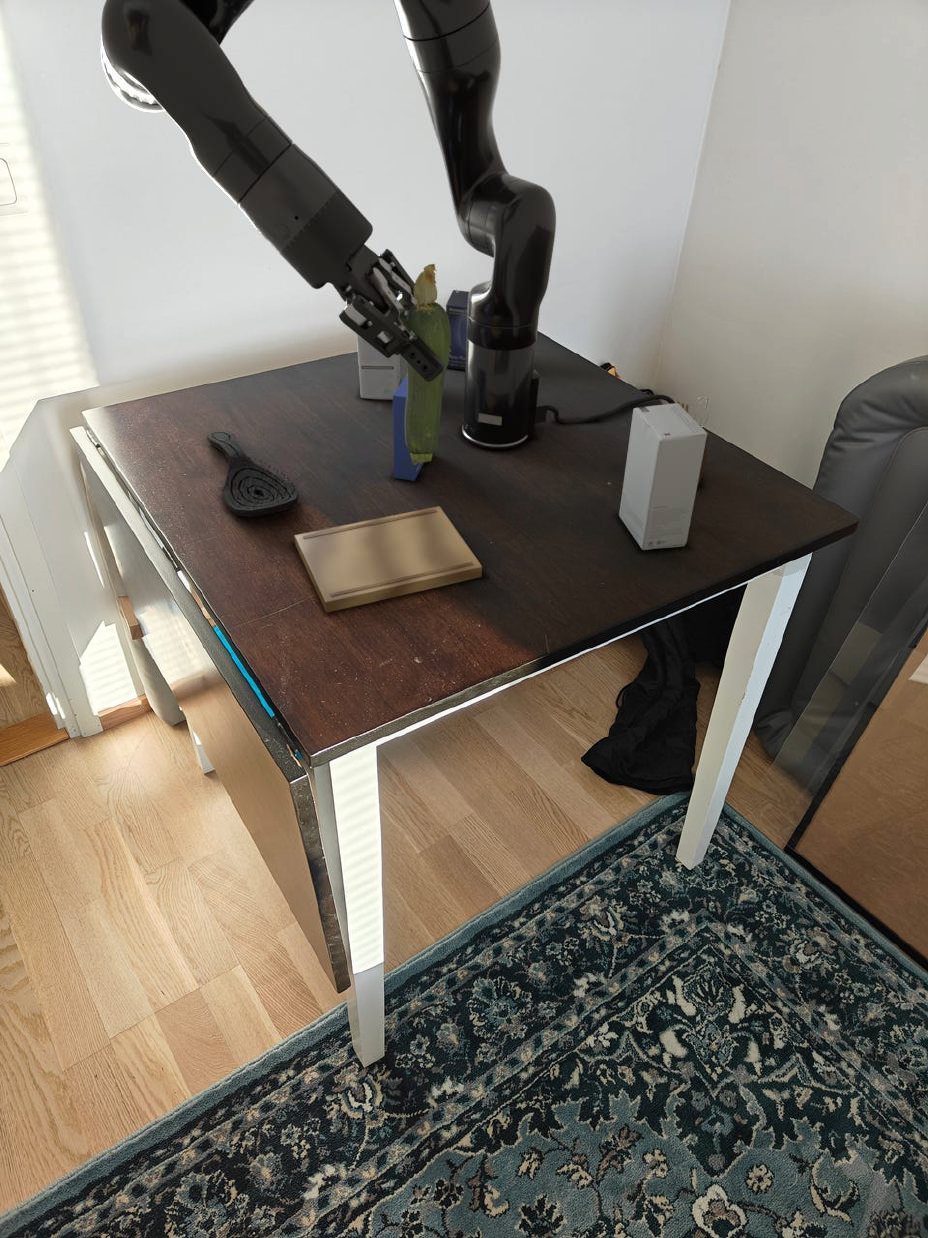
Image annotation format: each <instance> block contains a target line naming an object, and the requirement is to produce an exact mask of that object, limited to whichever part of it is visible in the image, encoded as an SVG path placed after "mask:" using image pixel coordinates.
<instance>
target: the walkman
mask: <svg viewBox="0 0 928 1238" xmlns="http://www.w3.org/2000/svg"><path fill="white" fill-rule="evenodd" d="M406 398H407V374H406V375H405V376H404V378H403V379H402V380H401V384H400V386H399V387H398V389H397V390H396V391H395V393H394V394H393V399H392V423H393V424H392V425H393V426H392V427H393V432H392V433H393V476H394V479H400V480H405V481H413V482H415V481H416V479H417V477H418V475H419V473H420V472H421V469H422V468H423V466H424V465H425V462H421V463H417V464H416V465H414V464H413V461H412V458H411V455H410V452H409V450H408V448H407V445H406V441H405V424H404V418H405V405H406Z"/></svg>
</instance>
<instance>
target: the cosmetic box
mask: <svg viewBox="0 0 928 1238" xmlns="http://www.w3.org/2000/svg"><path fill="white" fill-rule="evenodd" d="M681 406H682V405H681V403H680V404H678V403H677V402H675V404H670V403H666V404H665V403H664V404H657V405H648V406H642V407H635V408H633V410H632V418H631V425H630V432H629V440H628V447H627V454H626V461H625V462H626V463H625V469H624V476H623V482H622V483H623V484H622V492H621V498H620V499H621V500H620V504H619V505H620V506H619V512H618V516H619V518H620V520H621V521H622V522H623V524H624V525H625V526H626V528H627V530H628V531H629V532H630V534H631V535H632V537H633V538H634V540H635V541H636V542H637V544H638V545H639V547H640V549H641V550H642V551H648V550H656V549H669V548H679V547H685V546H686V545H687V542H688V537H689V531H690V526H691V522H692V515H693V510H694V507H695V501H696V495H697V489H698V485H699V483H698V479H699V474H700V469H701V463H702V458H703V453H704V448H705V443H706V438H707V434H708V435H709V432H708V433H707V432H706V431H705V430H704V429H703V428H702V427H701V426H702V425H701V424H700V423H698V422H697V421H696V420H694V419H695V418H693V417H692V415H691V414H689V412H688V413H687V412H686V411H685V410H686V409H685V408H684V409H683V408H682V407H681ZM690 415H691V416H690ZM699 424H700V425H699Z"/></svg>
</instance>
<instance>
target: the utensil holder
mask: <svg viewBox="0 0 928 1238" xmlns="http://www.w3.org/2000/svg"><path fill="white" fill-rule="evenodd" d="M700 399H701V400H700ZM704 399H706V403H708V402H709V403H710V404H709V406H710V407H709V410H708V411H709V412H708V415H707V418H706V420H705V421H704V423H703V425H701V423H702V420H703V417H704V416H705V412H706V409H707V405H708V404H705V407H704V410H703V414H702V416H701V420H700V422H699V423H698V424H699V425H700V426H701V427H702V428H703V429H704V430H705V431H706V432H707V433H708V434H707V438H706V443H705V448H704V453H703V458H702V463H701V469H700V474H699V479H698V484H699V483H700V482H701V480H702V479H703V475H704V471H705V468H706V467H705V466H706V462H707V458H708V451H709V450H708V445H707V444H708V442H709V431H708V429H707V428H706V427H704V425H705V424H706V423H707V421H708V419H709V415H710V414H711V413H710V412H711V409H712V402H711V399H710V398H708V397H707V396H699V397H698V400H700V403H699V404H698V407H697V409H696V412H695V416H694V418H693V419H694V420H695V421H696V418H697V415H698V411H699V408H700V405H701V404H702V401H704ZM676 403H678V404H680V406H681V407H682V408H683V409H684V410H685V411H686V412H687V413H688V414H689V404H688V403H687V404H685V402H681V401H680V400H677V402H676ZM696 403H697V400H695V402H694V404H693V406H692V408H691V412H690V414H689V415H690V416H691V417H692V414H693V410H694V407H695V404H696Z"/></svg>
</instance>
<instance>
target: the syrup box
mask: <svg viewBox="0 0 928 1238" xmlns="http://www.w3.org/2000/svg"><path fill="white" fill-rule="evenodd" d="M394 324H395V325H397V324H396V323H394ZM397 326H398V325H397ZM378 337H379V338H380V339H381V340H383V339H382V338H381V336H378ZM383 341H384V340H383ZM356 345H357V346H356V349H357V361H358V377H359V378H358V379H359V392H360V394H359V395H360V398H361V399H370V400H393V394H394V393H395V391H396V390H397V389H398V387H399V386H400V384H401V383H402V372H401V371H402V370H401V368H402V365H401V354H399V355H395V354H394V355H392V356H391V357H390V358H387V357H385V356H384V355H383V354H381V353H380V352H379V351H378V350H376V349H375V348H374V347H373V346H371V345H370V344H369V343H368V342H366V341H365V340H364V339H363V338H361V337H360V336H359V335H358V334H357V333H356Z"/></svg>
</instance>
